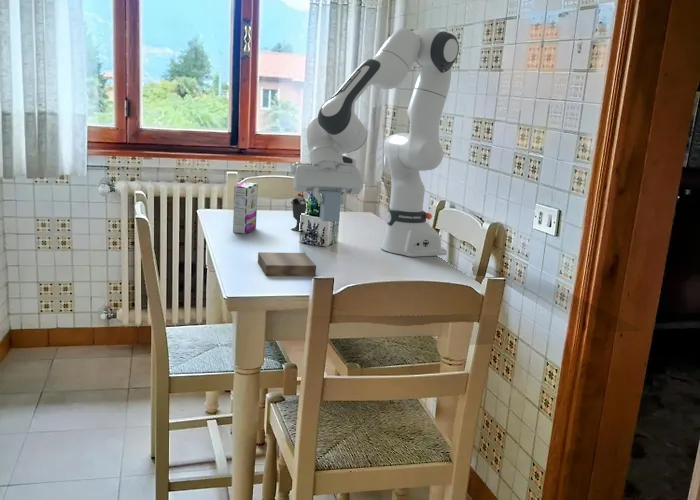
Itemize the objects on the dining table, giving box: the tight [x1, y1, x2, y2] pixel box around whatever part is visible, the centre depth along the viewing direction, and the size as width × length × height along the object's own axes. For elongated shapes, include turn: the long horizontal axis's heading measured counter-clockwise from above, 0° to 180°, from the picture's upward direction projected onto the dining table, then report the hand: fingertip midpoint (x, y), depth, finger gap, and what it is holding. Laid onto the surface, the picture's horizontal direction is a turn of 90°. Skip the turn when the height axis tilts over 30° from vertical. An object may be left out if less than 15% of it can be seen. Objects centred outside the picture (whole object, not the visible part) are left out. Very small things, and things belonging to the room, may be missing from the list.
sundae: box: [290, 192, 308, 232], centre depth 242 cm, size 7×7×15 cm
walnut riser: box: [257, 251, 317, 277], centre depth 190 cm, size 14×14×3 cm
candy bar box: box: [232, 181, 259, 235], centre depth 233 cm, size 11×5×16 cm, turn 168°
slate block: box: [319, 191, 342, 223], centre depth 190 cm, size 4×4×8 cm
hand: (331, 203), depth 189 cm, fingers closed on slate block, 4 cm apart
